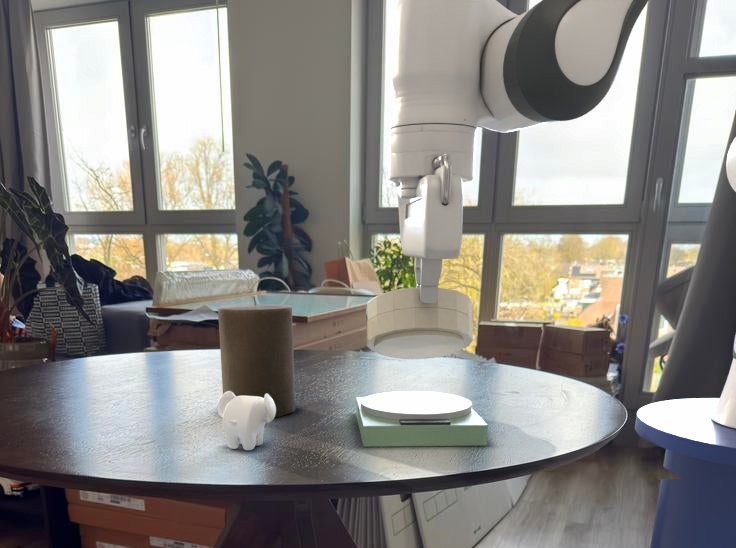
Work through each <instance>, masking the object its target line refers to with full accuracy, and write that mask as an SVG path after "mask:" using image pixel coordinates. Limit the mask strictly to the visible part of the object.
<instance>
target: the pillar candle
mask: <svg viewBox="0 0 736 548" xmlns="http://www.w3.org/2000/svg"><path fill="white" fill-rule="evenodd" d="M252 299H253V304H228V305H222V306H218V307H217V319H218V330H219V331H218V332H219V347H220V348H219V350H220V351H219V352H220V364H221V365H220V366H221V367H220V369H221V388H222V395H223V394H224V393H225V392H227V391H231V392H233V393H234V394H235V396H257V397H262V398H264V396H265V394H269V396H270V397H271V398H272V399H273V401H274V403H275V406H276V414H275V417H274V418H280V417H283V416H287V415H289V414H292V413H294V412H295V411H296V385H295V383H296V381H295V357H294V356H295V355H294V353H295V352H294V351H295V350H294V328H293V327H294V326H293V325H294V324H293V306H292V305H289V304H274V303H272V304H271V303H270V304H267V303H266V304H265V303H264V304H262V303H257V300H256V297H255V295H253V296H252Z"/></svg>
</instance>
